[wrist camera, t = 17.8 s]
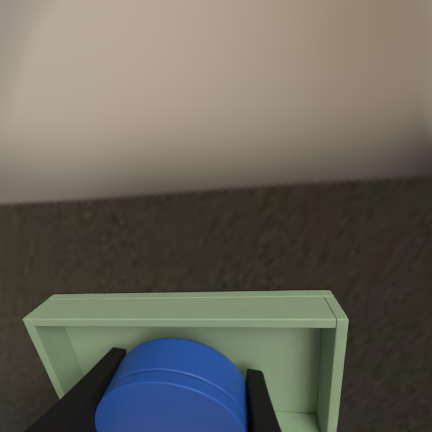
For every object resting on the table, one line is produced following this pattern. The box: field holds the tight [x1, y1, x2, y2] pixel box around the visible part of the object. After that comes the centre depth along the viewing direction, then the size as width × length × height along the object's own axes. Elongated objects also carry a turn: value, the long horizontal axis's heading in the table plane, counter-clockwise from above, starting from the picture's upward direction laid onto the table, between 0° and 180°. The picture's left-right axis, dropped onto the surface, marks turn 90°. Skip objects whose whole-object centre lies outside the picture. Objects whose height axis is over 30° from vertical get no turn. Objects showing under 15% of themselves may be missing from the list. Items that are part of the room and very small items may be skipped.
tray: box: [23, 290, 348, 432], centre depth 10 cm, size 13×7×2 cm, turn 96°
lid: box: [95, 338, 249, 432], centre depth 8 cm, size 6×6×2 cm
